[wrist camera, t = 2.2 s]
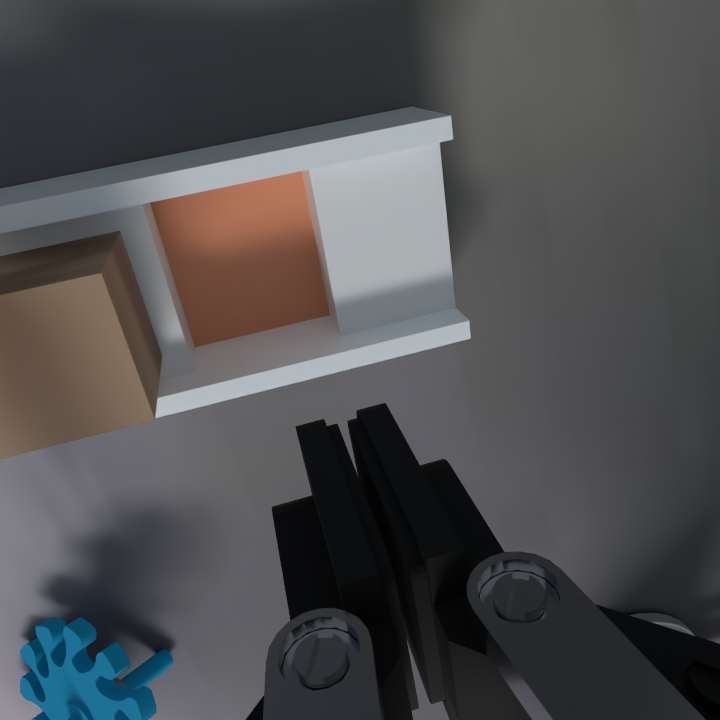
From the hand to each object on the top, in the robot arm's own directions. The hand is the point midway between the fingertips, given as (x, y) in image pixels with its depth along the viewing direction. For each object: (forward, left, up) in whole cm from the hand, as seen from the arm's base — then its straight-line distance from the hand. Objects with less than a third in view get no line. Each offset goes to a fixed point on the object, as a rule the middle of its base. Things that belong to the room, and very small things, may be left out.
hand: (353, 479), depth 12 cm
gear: (+14, +20, -17) cm, 30 cm away
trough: (+6, 0, -17) cm, 18 cm away
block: (+7, 0, -14) cm, 16 cm away
